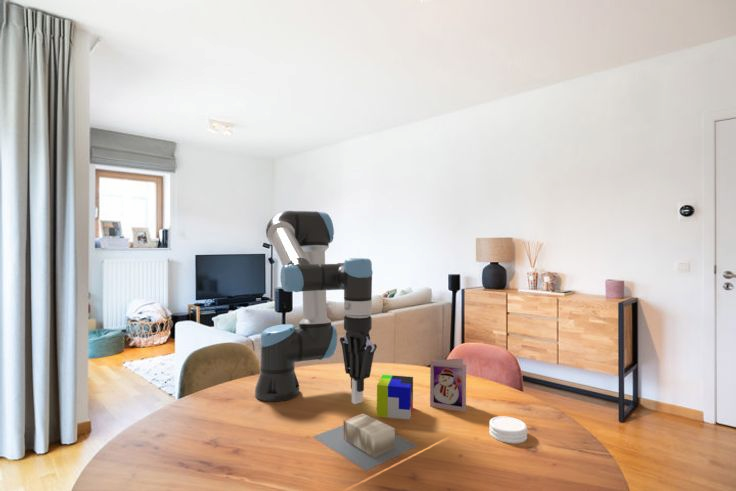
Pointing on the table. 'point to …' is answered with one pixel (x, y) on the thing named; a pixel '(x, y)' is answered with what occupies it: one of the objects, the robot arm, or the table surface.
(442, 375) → the greeting card
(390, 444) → the birch block
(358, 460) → the slate mat
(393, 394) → the puzzle toy
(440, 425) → the table surface
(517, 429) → the white round disc stack
